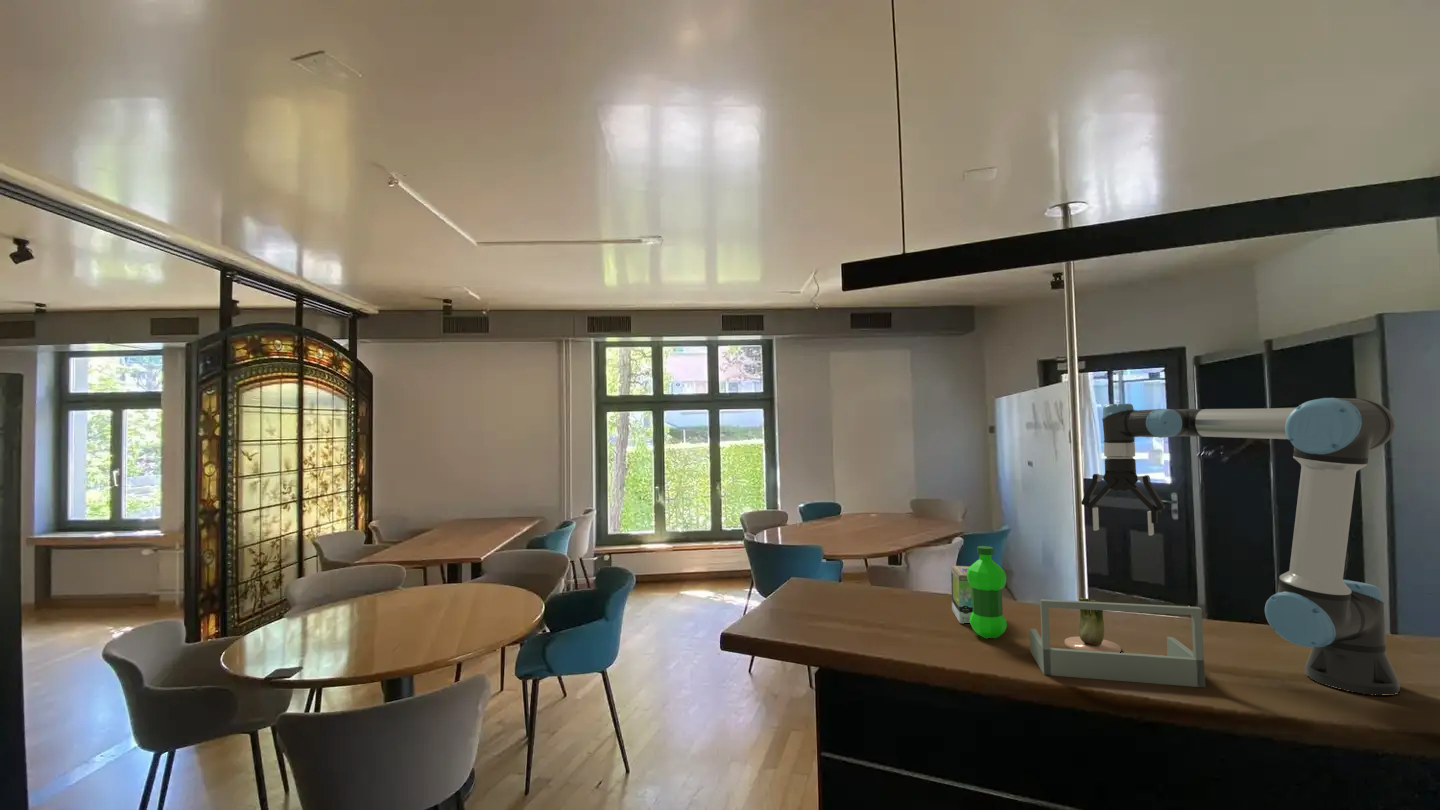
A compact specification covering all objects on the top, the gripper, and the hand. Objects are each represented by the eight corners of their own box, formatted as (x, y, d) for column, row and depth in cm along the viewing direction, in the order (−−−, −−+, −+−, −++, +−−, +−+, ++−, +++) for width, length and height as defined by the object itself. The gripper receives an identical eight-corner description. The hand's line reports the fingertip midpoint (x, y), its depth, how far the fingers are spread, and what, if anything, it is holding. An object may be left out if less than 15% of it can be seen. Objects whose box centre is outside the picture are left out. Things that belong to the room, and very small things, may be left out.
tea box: (994, 625, 190) (992, 575, 190) (959, 624, 192) (957, 574, 192) (984, 611, 205) (982, 565, 205) (951, 610, 207) (949, 564, 207)
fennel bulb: (1107, 647, 167) (1105, 601, 168) (1090, 648, 167) (1089, 602, 167) (1091, 640, 173) (1089, 595, 174) (1075, 641, 172) (1073, 596, 173)
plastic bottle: (972, 640, 177) (969, 550, 178) (967, 629, 187) (964, 543, 188) (1011, 643, 174) (1007, 551, 175) (1003, 631, 184) (1000, 544, 186)
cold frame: (1030, 651, 168) (1027, 584, 168) (1174, 661, 159) (1171, 590, 159) (1044, 674, 152) (1041, 600, 152) (1205, 687, 143) (1201, 608, 143)
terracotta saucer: (1126, 646, 170) (1126, 643, 170) (1113, 659, 161) (1113, 656, 161) (1073, 636, 179) (1073, 633, 179) (1057, 647, 170) (1057, 644, 170)
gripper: (1175, 457, 175) (1178, 535, 174) (1076, 456, 193) (1078, 526, 192) (1169, 459, 170) (1173, 538, 169) (1067, 457, 188) (1070, 529, 187)
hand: (1122, 532), depth 181 cm, fingers open, 13 cm apart
